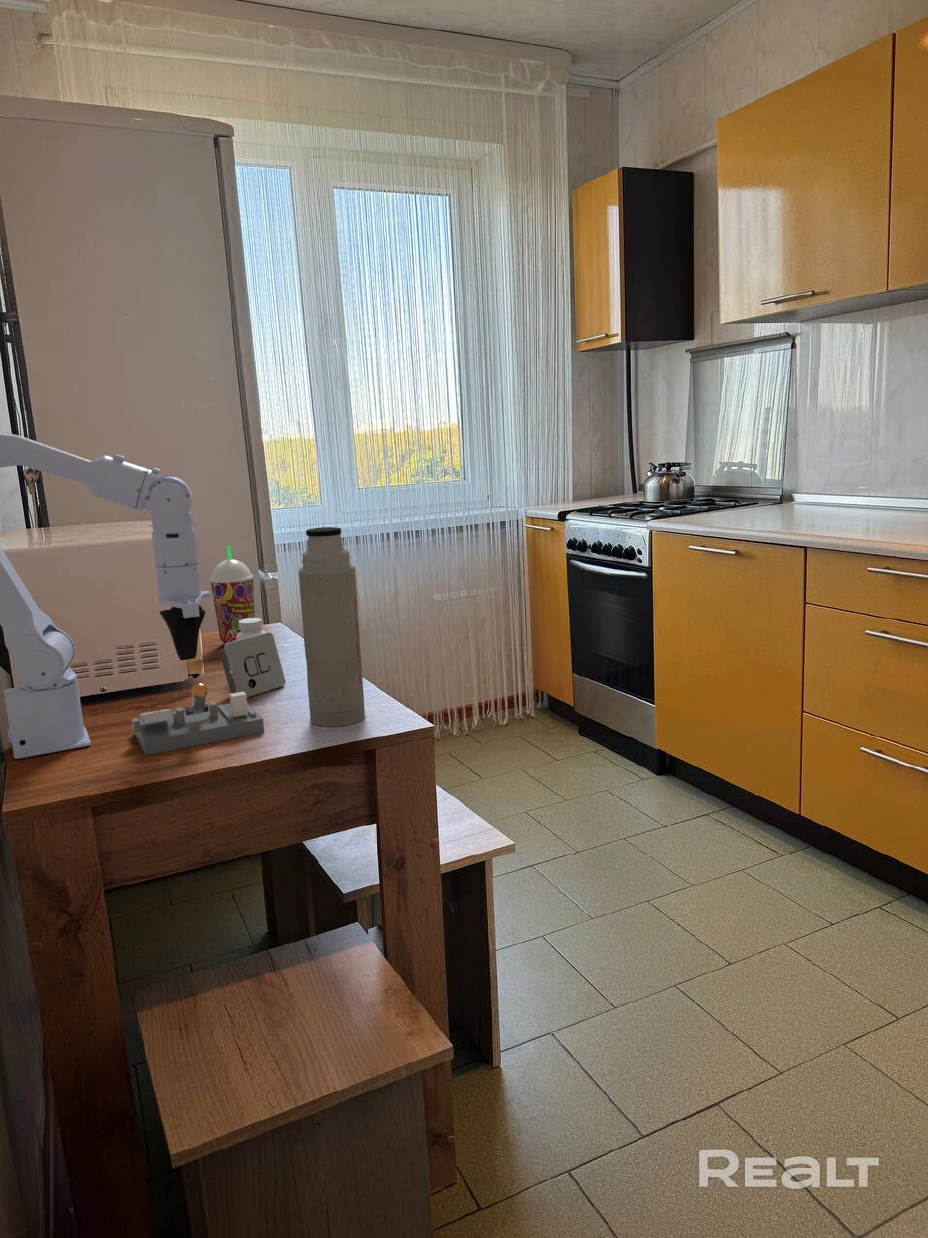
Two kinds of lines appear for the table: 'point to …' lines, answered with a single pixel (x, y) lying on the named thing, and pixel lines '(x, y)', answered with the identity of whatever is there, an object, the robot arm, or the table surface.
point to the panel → (196, 728)
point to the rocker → (156, 716)
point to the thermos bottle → (331, 630)
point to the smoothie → (232, 596)
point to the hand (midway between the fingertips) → (187, 658)
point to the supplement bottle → (249, 628)
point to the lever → (198, 700)
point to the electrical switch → (252, 665)
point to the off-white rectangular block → (238, 704)
